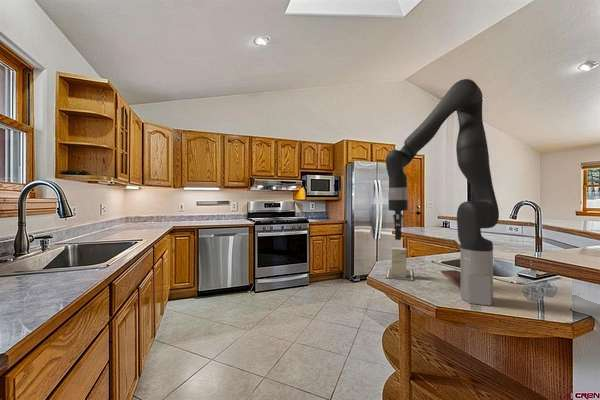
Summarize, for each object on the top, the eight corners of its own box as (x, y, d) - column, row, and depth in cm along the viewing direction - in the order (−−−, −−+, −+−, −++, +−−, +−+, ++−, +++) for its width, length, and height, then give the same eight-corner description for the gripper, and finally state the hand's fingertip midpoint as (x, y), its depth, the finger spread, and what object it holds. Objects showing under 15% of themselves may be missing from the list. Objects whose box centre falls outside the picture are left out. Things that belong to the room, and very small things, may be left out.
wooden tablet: (437, 268, 131) (460, 266, 129) (438, 272, 131) (460, 271, 129) (459, 286, 105) (488, 284, 103) (460, 292, 105) (489, 290, 103)
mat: (413, 280, 114) (413, 279, 114) (385, 278, 118) (385, 277, 118) (412, 271, 129) (412, 270, 129) (387, 269, 133) (387, 268, 133)
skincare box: (391, 276, 119) (391, 248, 119) (391, 274, 123) (390, 247, 123) (406, 278, 117) (406, 249, 117) (406, 275, 121) (406, 247, 121)
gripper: (407, 198, 105) (408, 241, 105) (407, 198, 119) (408, 236, 119) (387, 199, 108) (387, 240, 108) (389, 199, 121) (389, 236, 121)
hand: (398, 238), depth 113 cm, fingers open, 7 cm apart
